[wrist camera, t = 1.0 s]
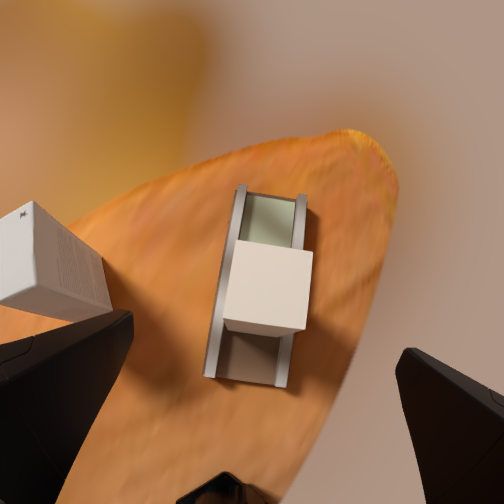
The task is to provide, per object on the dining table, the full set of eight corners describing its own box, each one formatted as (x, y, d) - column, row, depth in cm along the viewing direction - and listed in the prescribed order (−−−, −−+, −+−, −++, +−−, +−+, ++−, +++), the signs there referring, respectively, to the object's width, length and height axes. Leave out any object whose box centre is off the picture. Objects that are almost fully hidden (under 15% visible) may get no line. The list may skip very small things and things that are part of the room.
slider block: (276, 337, 23) (305, 329, 13) (227, 330, 23) (222, 317, 13) (282, 290, 24) (313, 252, 15) (235, 282, 24) (235, 239, 15)
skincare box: (67, 268, 25) (-8, 220, 14) (102, 254, 26) (34, 196, 14) (79, 326, 23) (-6, 304, 12) (115, 314, 24) (38, 285, 13)
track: (284, 384, 23) (289, 387, 21) (203, 373, 23) (200, 375, 21) (305, 206, 28) (310, 195, 26) (235, 194, 28) (235, 183, 26)
